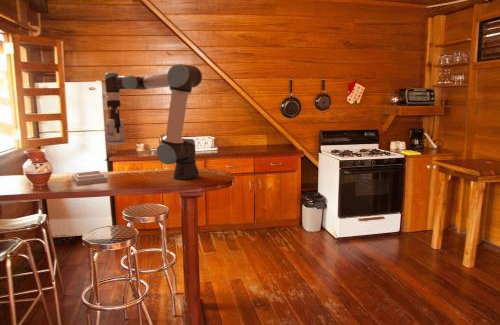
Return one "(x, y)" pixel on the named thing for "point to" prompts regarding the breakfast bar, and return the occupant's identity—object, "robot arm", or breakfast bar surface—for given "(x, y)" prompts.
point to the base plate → (89, 177)
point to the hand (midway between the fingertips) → (116, 138)
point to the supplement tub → (111, 132)
